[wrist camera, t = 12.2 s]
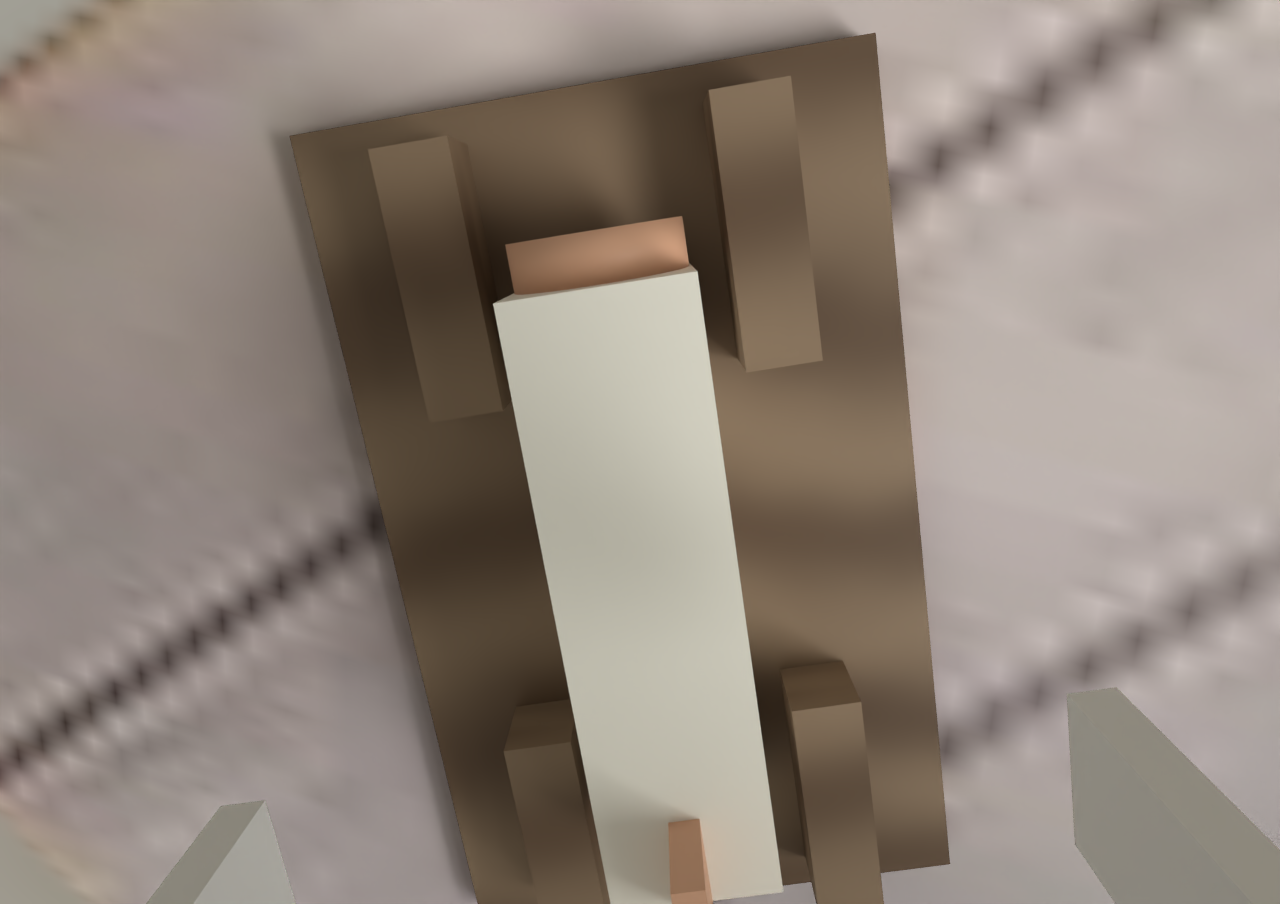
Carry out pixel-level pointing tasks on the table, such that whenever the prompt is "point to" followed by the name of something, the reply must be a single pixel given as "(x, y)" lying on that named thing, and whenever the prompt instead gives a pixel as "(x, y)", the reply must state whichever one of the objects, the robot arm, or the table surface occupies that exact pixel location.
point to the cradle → (748, 423)
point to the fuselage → (641, 558)
